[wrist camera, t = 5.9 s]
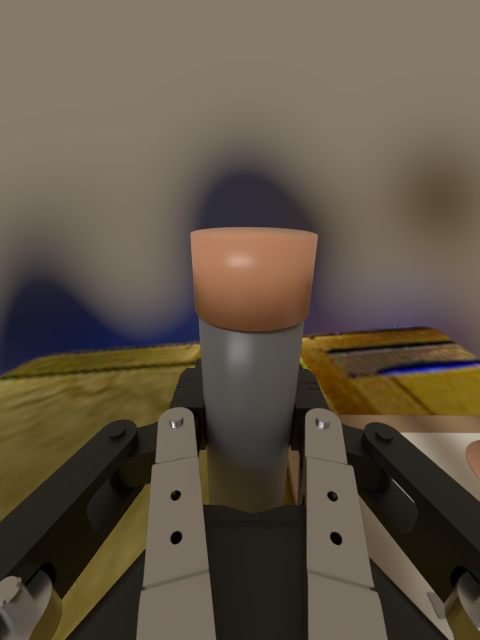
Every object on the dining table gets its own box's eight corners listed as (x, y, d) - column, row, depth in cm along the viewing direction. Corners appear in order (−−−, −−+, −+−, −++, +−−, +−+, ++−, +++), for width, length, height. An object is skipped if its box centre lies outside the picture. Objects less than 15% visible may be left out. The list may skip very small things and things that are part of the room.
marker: (206, 582, 13) (178, 241, 7) (213, 502, 17) (199, 226, 10) (284, 583, 13) (335, 243, 7) (275, 502, 17) (302, 227, 10)
